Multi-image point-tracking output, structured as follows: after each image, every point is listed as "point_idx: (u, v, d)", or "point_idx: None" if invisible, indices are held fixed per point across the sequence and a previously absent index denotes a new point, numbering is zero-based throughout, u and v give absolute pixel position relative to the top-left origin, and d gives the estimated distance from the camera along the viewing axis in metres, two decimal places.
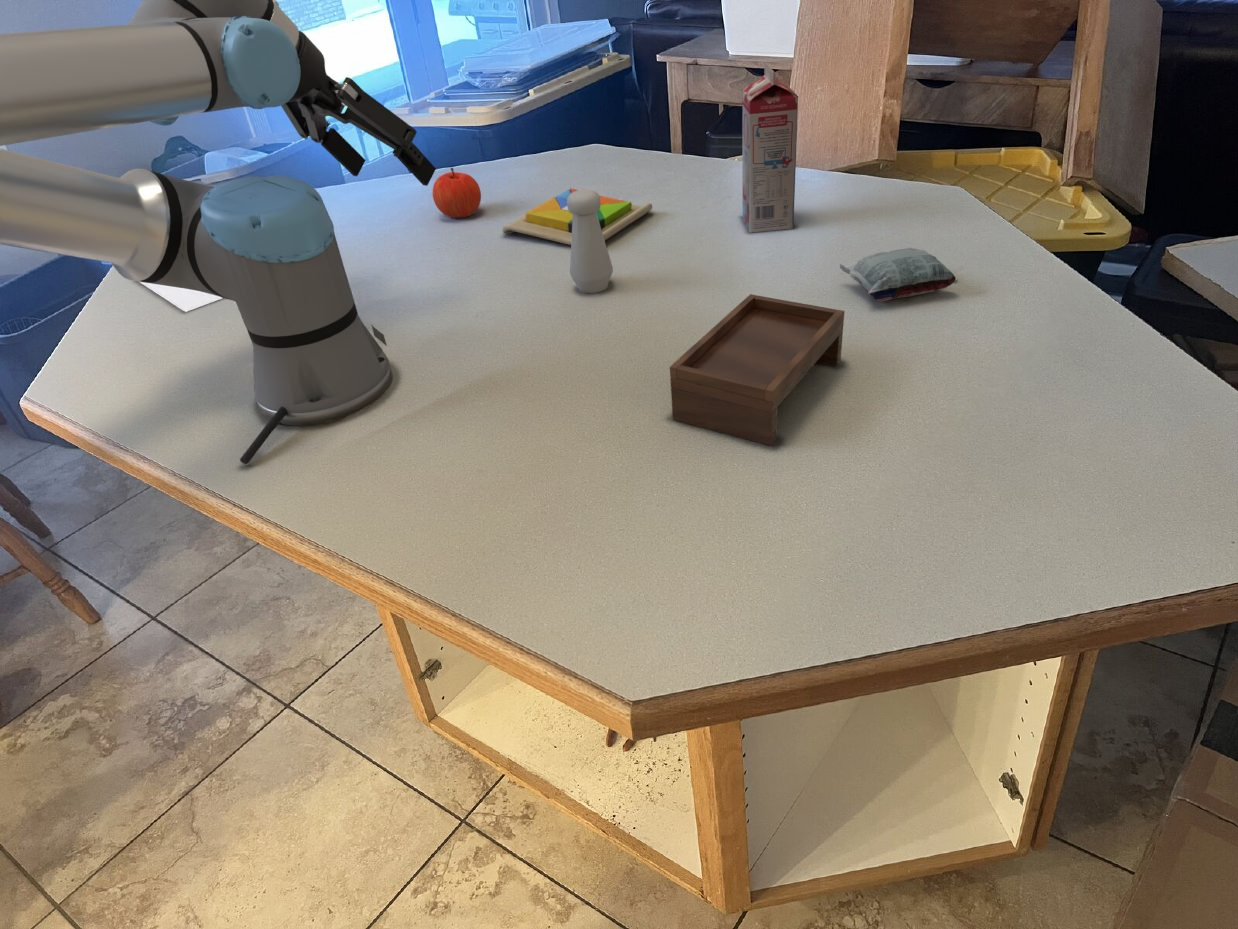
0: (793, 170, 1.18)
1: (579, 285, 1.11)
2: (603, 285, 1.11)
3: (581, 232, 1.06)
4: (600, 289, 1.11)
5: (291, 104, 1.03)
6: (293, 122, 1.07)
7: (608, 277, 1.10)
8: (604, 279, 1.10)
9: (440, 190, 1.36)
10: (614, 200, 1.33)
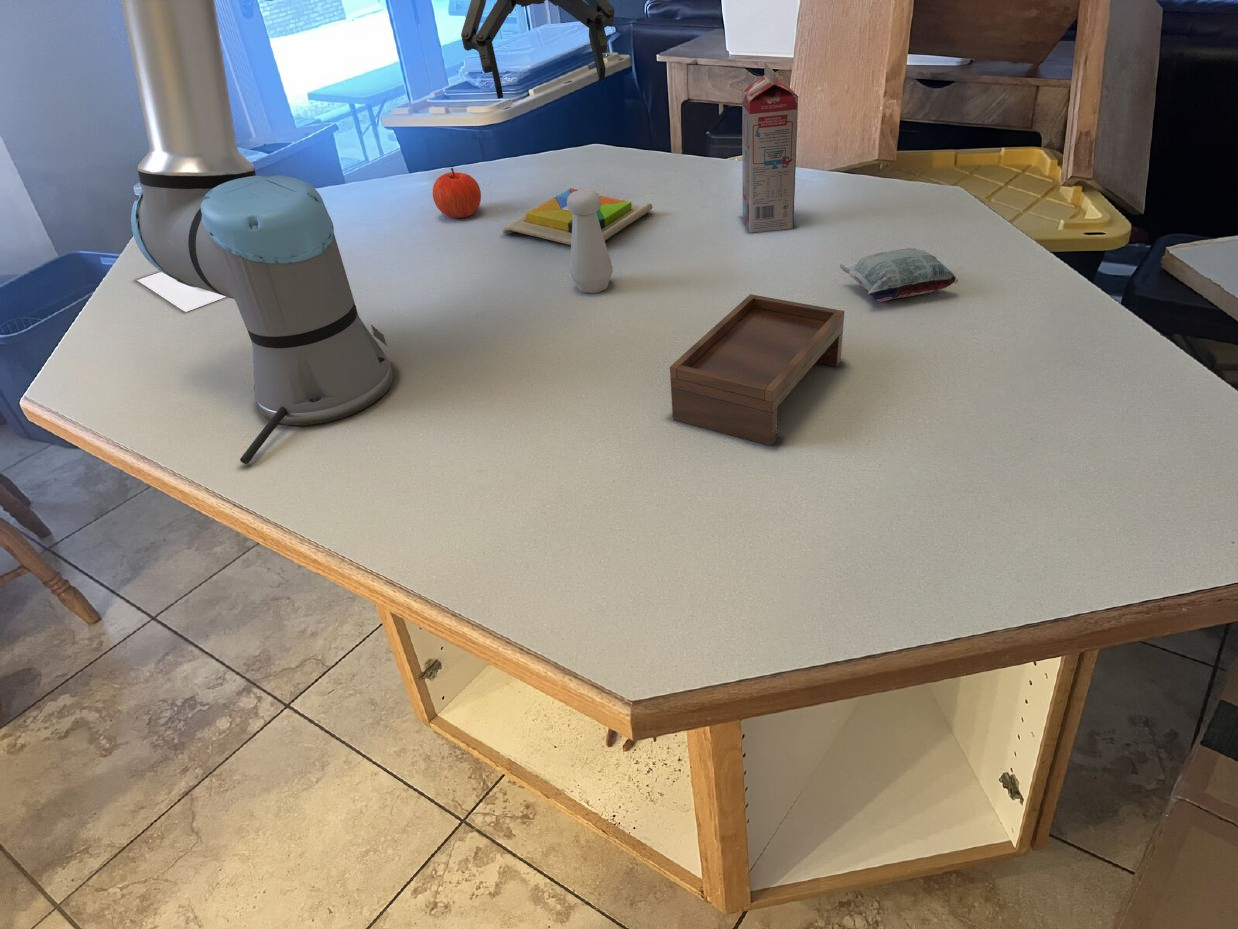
0: (793, 170, 1.18)
1: (579, 285, 1.11)
2: (603, 285, 1.11)
3: (581, 232, 1.06)
4: (600, 289, 1.11)
5: None
6: (468, 15, 1.06)
7: (608, 277, 1.10)
8: (604, 279, 1.10)
9: (440, 190, 1.36)
10: (614, 200, 1.33)
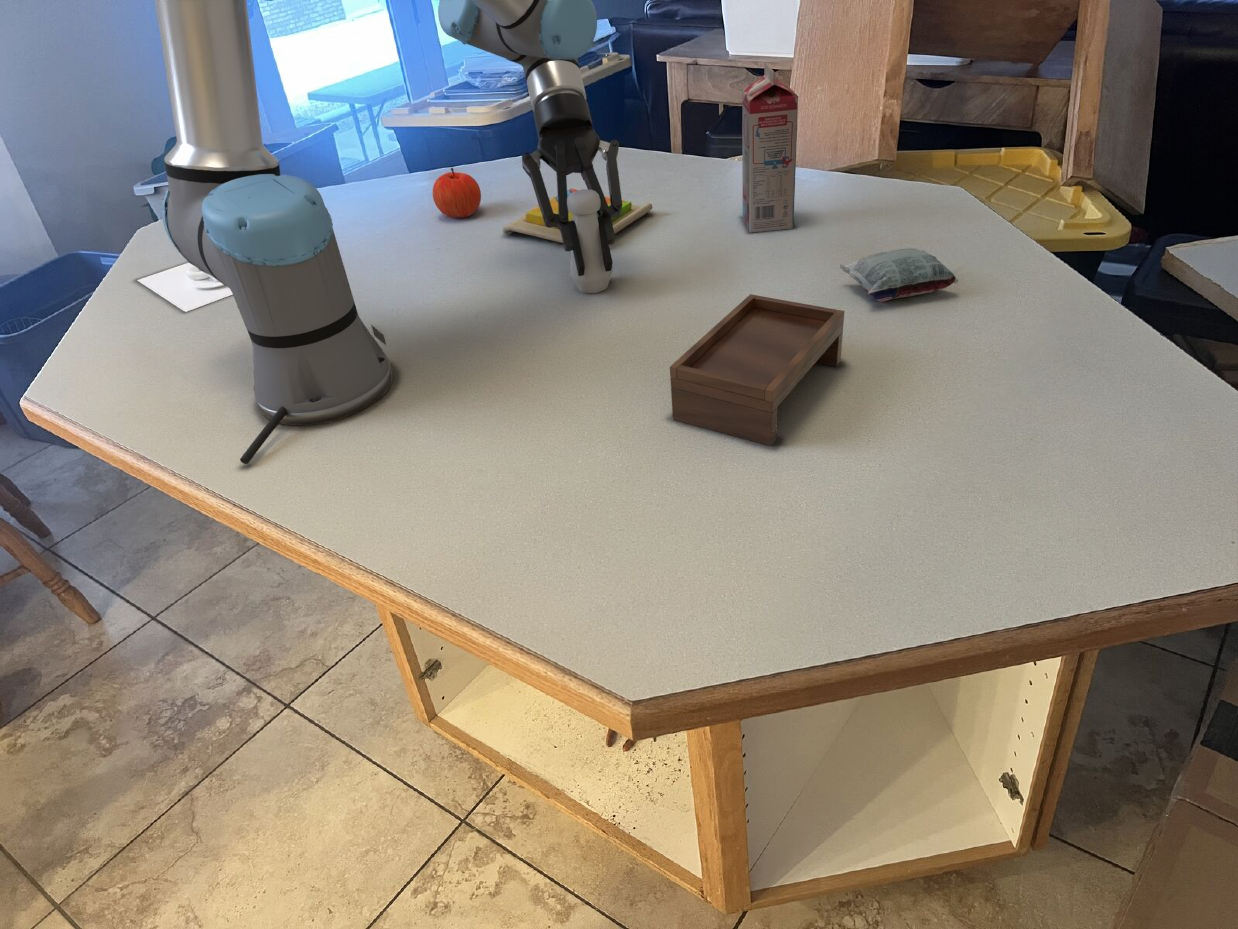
0: (793, 170, 1.18)
1: (579, 285, 1.11)
2: (603, 285, 1.11)
3: (581, 232, 1.06)
4: (600, 289, 1.11)
5: None
6: (540, 197, 1.07)
7: (608, 277, 1.10)
8: (604, 279, 1.10)
9: (440, 190, 1.36)
10: None
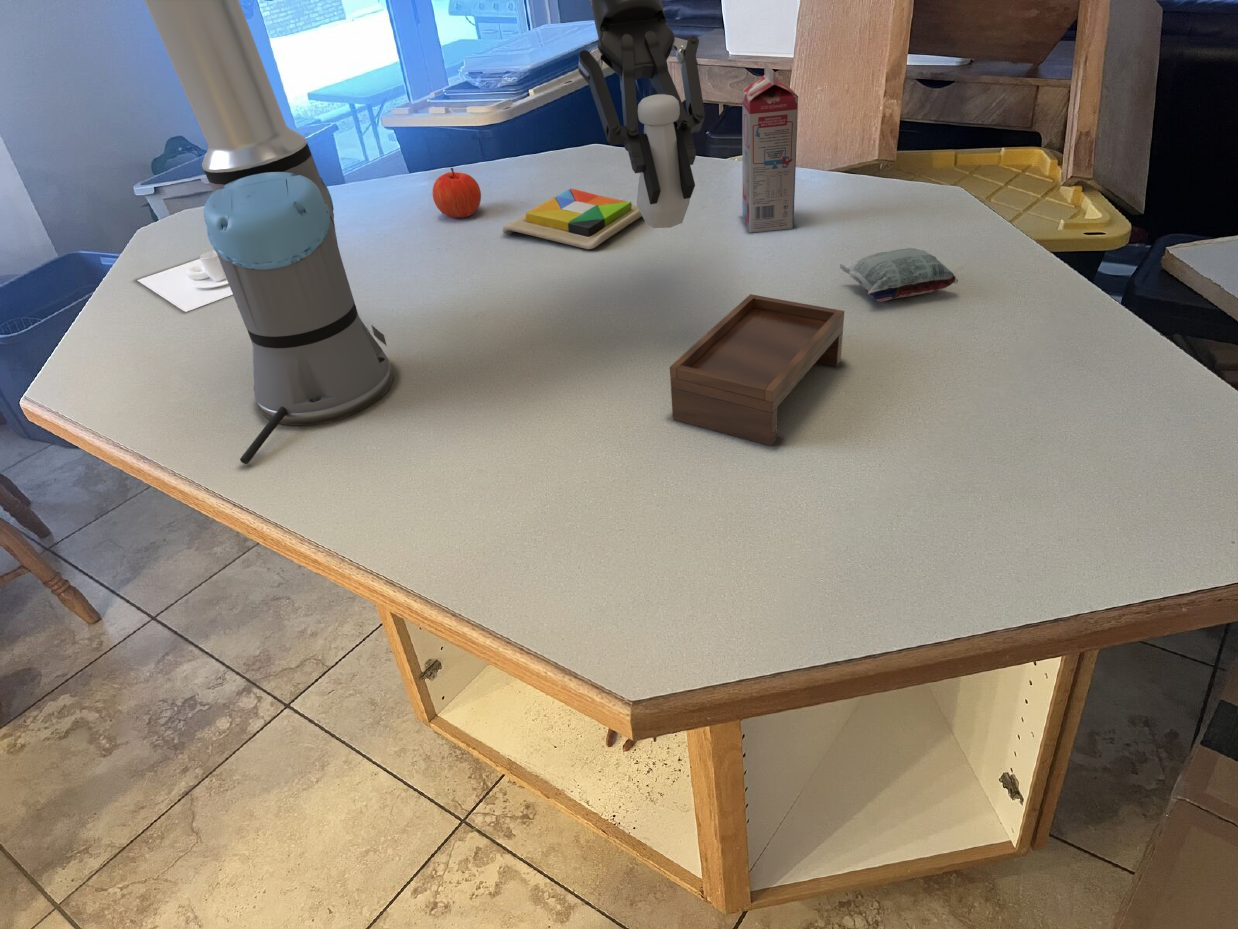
0: (793, 170, 1.18)
1: (649, 218, 0.89)
2: (678, 218, 0.89)
3: (655, 148, 0.85)
4: (674, 223, 0.90)
5: None
6: (604, 104, 0.85)
7: (685, 207, 0.89)
8: (680, 210, 0.88)
9: (440, 190, 1.36)
10: (614, 200, 1.33)
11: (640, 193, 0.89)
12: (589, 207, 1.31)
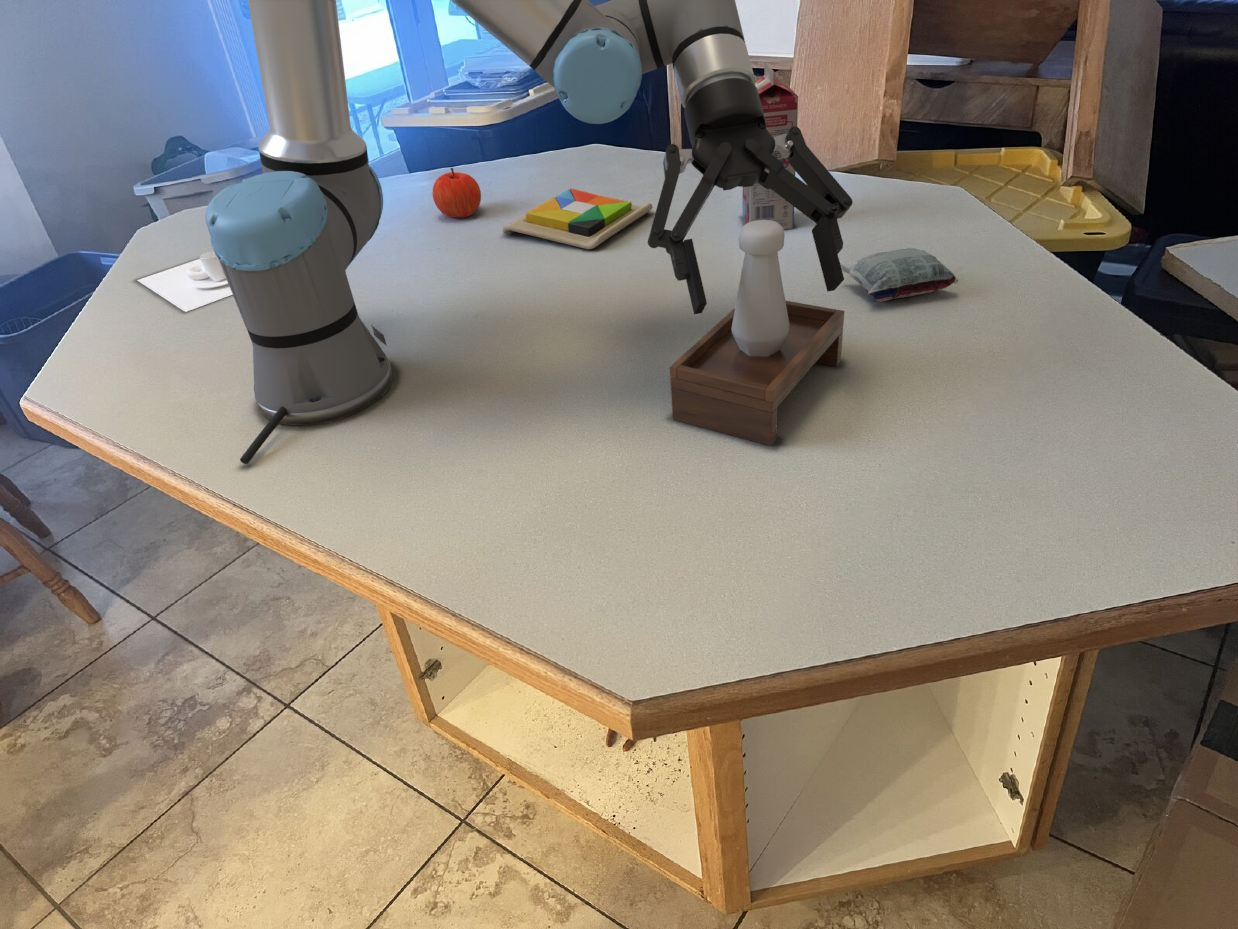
0: (793, 170, 1.18)
1: (745, 347, 0.83)
2: (777, 346, 0.83)
3: (757, 278, 0.78)
4: (772, 352, 0.83)
5: None
6: (660, 205, 0.78)
7: (785, 336, 0.82)
8: (780, 340, 0.82)
9: (440, 190, 1.36)
10: (614, 200, 1.33)
11: (736, 321, 0.82)
12: (589, 207, 1.31)
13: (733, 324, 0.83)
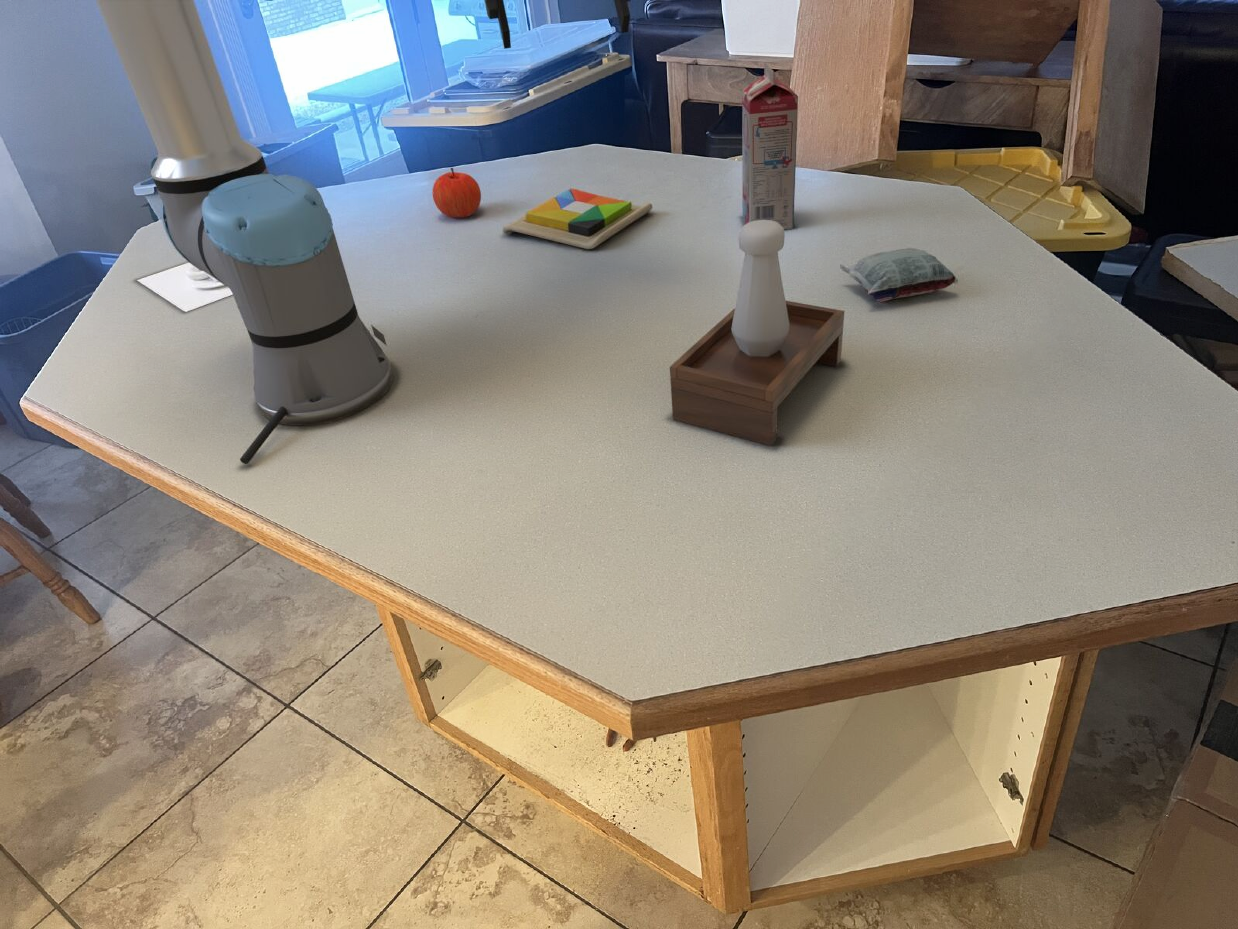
0: (793, 170, 1.18)
1: (745, 347, 0.83)
2: (777, 346, 0.83)
3: (757, 278, 0.78)
4: (772, 352, 0.83)
5: None
6: None
7: (785, 336, 0.82)
8: (780, 340, 0.82)
9: (440, 190, 1.36)
10: (614, 200, 1.33)
11: (737, 321, 0.82)
12: (589, 207, 1.31)
13: (733, 324, 0.83)
